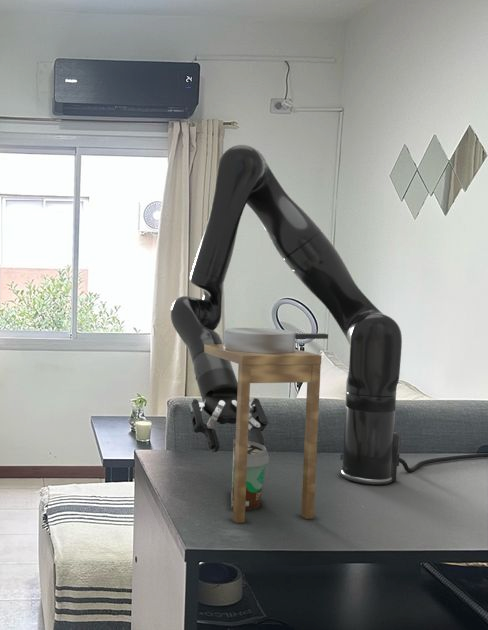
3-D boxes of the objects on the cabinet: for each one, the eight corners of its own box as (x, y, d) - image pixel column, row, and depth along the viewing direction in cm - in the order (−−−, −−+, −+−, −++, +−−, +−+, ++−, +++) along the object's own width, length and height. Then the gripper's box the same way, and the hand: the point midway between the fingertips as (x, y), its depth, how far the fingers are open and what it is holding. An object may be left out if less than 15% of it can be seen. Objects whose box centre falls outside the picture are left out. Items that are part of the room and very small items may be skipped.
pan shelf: (297, 488, 141) (304, 327, 139) (345, 517, 126) (353, 335, 123) (199, 492, 137) (204, 326, 135) (236, 523, 122) (243, 335, 119)
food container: (269, 516, 125) (271, 457, 125) (231, 512, 126) (234, 455, 126) (265, 494, 137) (267, 440, 137) (231, 491, 139) (233, 438, 138)
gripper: (186, 366, 143) (208, 439, 133) (255, 366, 146) (281, 437, 136) (176, 389, 149) (195, 461, 138) (242, 388, 152) (266, 458, 141)
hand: (238, 449), depth 137 cm, fingers open, 8 cm apart
